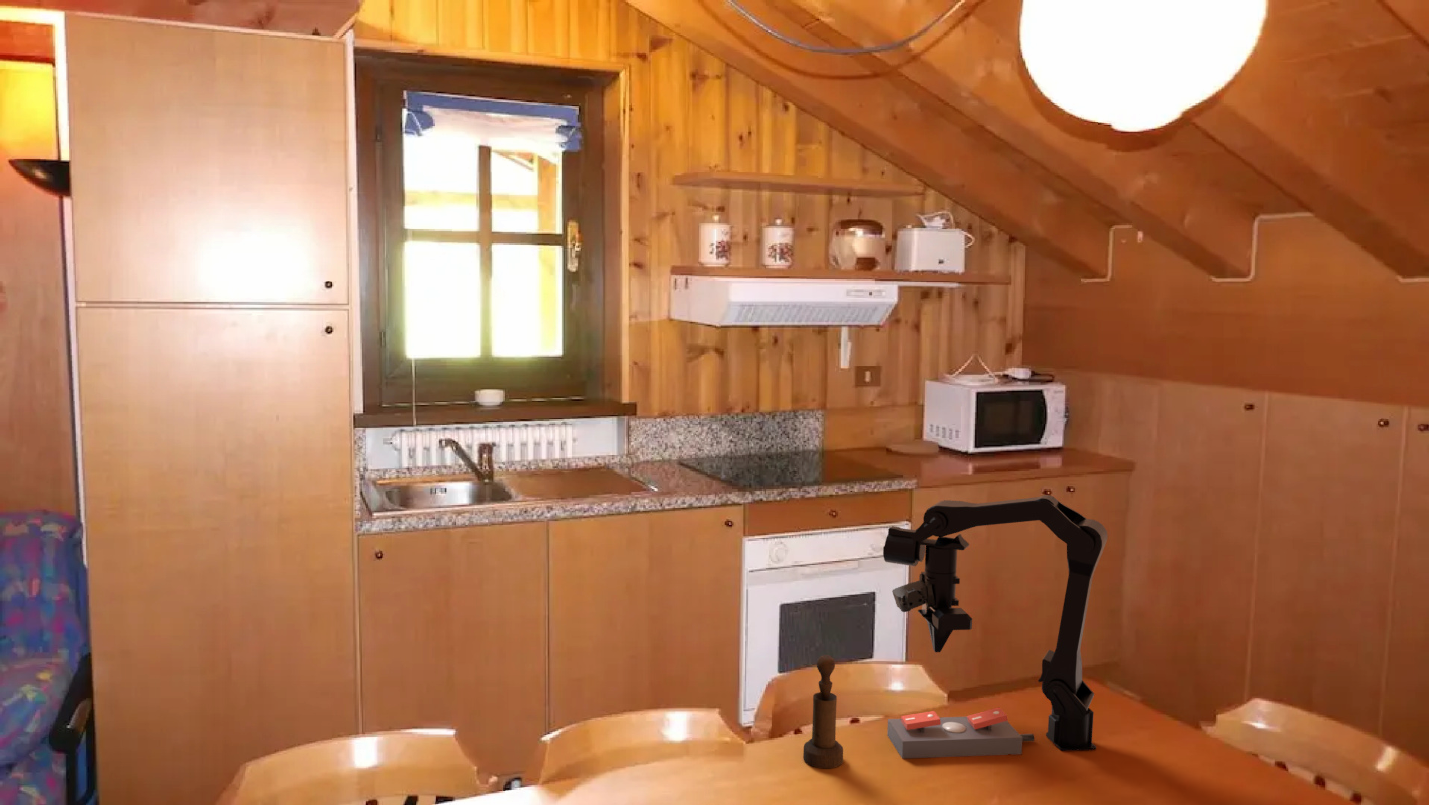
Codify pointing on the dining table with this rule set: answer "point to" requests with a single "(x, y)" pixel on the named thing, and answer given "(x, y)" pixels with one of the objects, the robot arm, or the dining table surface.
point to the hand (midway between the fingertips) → (937, 651)
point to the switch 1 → (920, 720)
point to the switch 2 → (987, 718)
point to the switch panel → (955, 739)
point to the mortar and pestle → (824, 722)
